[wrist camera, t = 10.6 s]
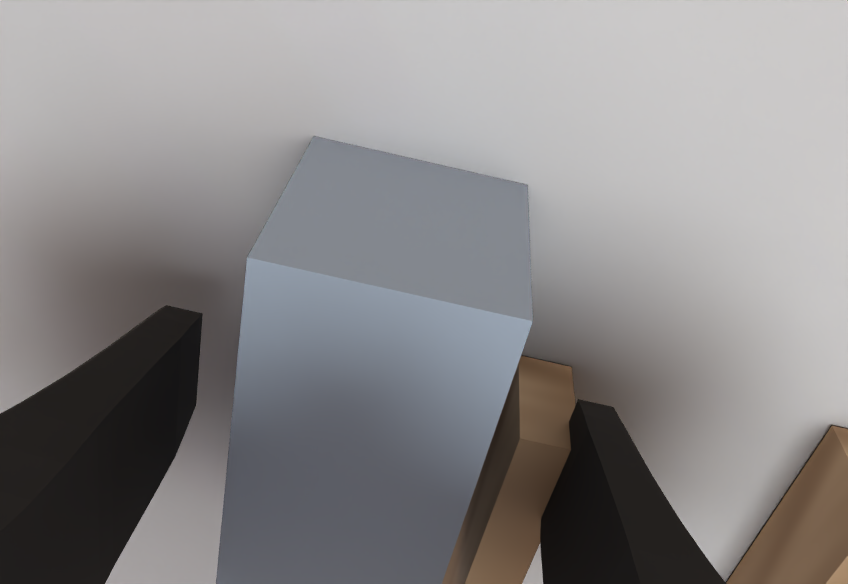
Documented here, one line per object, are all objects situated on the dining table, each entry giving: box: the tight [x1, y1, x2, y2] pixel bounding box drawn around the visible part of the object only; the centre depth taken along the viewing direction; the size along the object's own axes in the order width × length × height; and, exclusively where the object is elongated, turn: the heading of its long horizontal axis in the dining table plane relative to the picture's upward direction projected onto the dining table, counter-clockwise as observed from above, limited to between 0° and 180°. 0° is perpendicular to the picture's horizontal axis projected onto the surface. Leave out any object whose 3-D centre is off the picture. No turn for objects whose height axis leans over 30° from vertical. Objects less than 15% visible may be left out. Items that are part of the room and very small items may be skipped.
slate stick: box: [216, 136, 533, 584], centre depth 13 cm, size 4×8×4 cm, turn 168°
